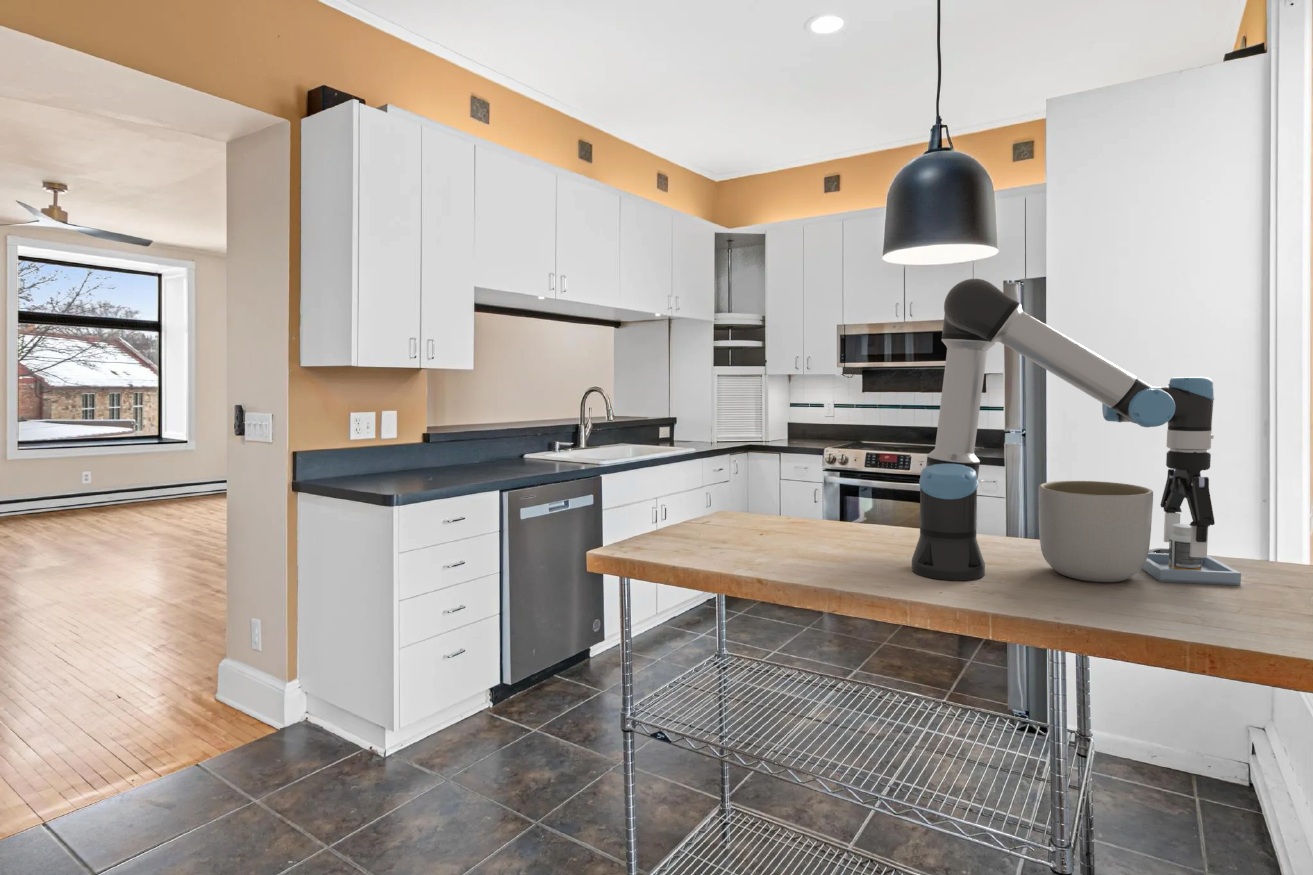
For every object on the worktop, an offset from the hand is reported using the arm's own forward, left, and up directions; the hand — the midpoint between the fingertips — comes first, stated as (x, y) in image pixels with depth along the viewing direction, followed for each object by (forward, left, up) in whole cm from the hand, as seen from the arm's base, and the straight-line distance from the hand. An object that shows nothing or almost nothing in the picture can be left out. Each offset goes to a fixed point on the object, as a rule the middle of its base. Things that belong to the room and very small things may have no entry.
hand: (1184, 549), depth 154 cm
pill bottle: (0, 0, -5) cm, 5 cm away
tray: (0, 0, -5) cm, 5 cm away
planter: (-19, -5, -5) cm, 20 cm away
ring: (+3, +13, -5) cm, 15 cm away
